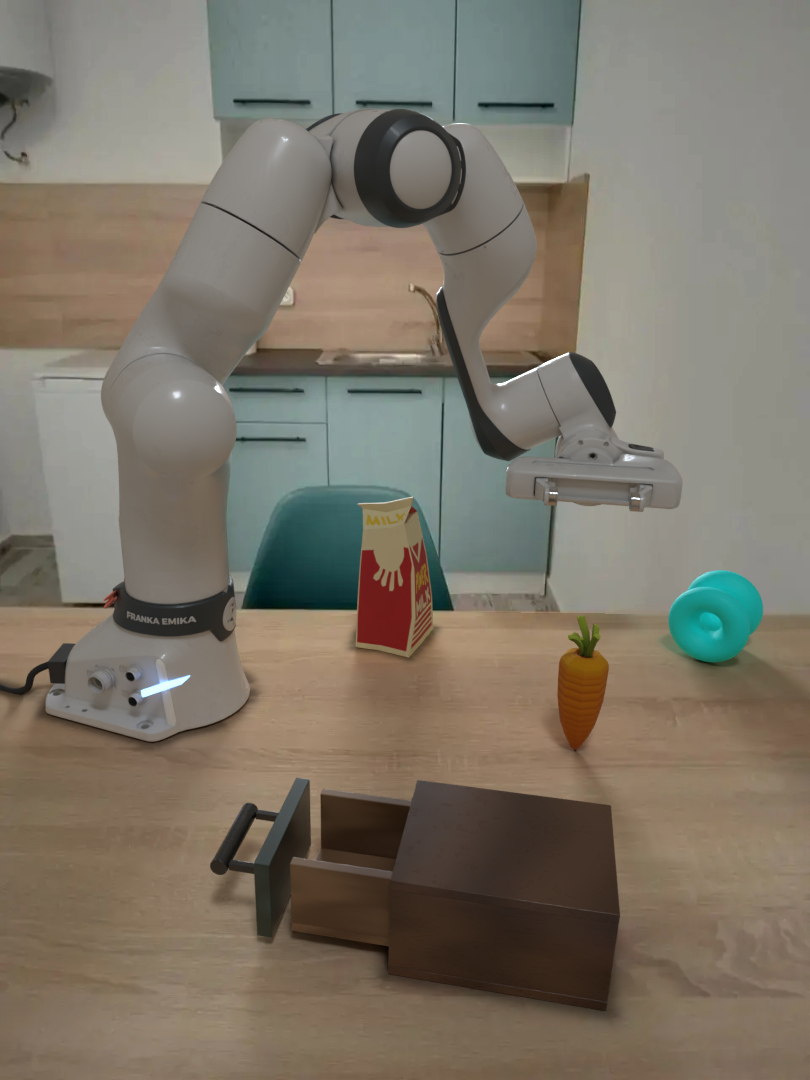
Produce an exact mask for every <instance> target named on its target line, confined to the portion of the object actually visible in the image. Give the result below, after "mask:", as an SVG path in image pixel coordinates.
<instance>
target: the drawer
mask: <svg viewBox="0 0 810 1080" xmlns="http://www.w3.org/2000/svg"><path fill="white" fill-rule="evenodd" d="M319 795H320V799H319V800H320V846H321V847H320V850H319V853H318V855H317V858H316V859H310V858H307V855H308V853H309V850H310V848H311V846H312V831H311V830H312V829H311V780H310V779H309V778H303V777H295V779H294V781H293V783H292V786H291V787H290V789H289V791H288V793H287V796H286V798H285V800H284V802H283V803H282V806H281V808H280V810H279V812H278V811H271V810H265V809H259V807H258V806H257V805H256V803H253V802H245V803H243V805H242V807H241V808H240V810H239V812H238V814H237V815H236V817H235V819H234V821H233V823H232V824H231V827H230V828H229V829H228V832H227V833H226V835H225V837H224V838H223V841H222V843H221V844H220V845H219V847H218V849H217V851H216V853H215V854H214V856H213V858H212V860H211V861H210V864H209V868H210V871H211V872H212V873H213V874H215V875H217V876H223V875H226V874H227V872H228V871H232V872H237V873H244V874H250V875H253V876H254V877H253V879H254V896H255V898H254V899H255V901H254V902H255V920H256V935H257V937H264V938H268V939H273V937H274V934H275V932H276V929H277V927H278V926H279V922H280V920H281V918H282V915H283V912H284V910H285V908H286V905H287V903H288V901H289V899H290V912H291V913H290V914H291V915H290V916H291V918H290V919H291V931H292V932H297V933H305V934H311V935H317V936H324V937H330V938H335V939H342V940H348V941H354V942H358V943H359V942H360V943H366V944H372V945H378V946H383V947H389V915H390V880H391V876H392V872H393V868H394V865H395V861H396V857H397V854H398V850H399V846H400V842H401V839H402V835H403V831H404V828H405V824H406V820H407V816H408V813H409V809H410V805H411V802H412V799H411V800H410V799H402V798H395V797H388V796H380V795H373V794H367V793H360V792H359V793H358V792H352V791H351V792H350V791H345V790H336V789H328V788H322V789H321V792H320V794H319ZM255 820H257V821H258V820H259V821H264V822H265V821H266V822H273V824H272V826H271V827H270V830H269V832H268V833H267V836H266V837H265V840H264V842H263V844H262V846H261V848H260V849H259V852H258V853H257V856H256V858H255V859H254V862H253V861H252V862H251V861H244V860H238V859H235V857H236V856H237V853H238V852H239V850H240V848H241V846H242V844H243V842H244V841H245V839H246V837H247V835H248V833H249V831H250V829H251V827H252V825H253V823H254V821H255Z"/></svg>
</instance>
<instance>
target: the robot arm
mask: <svg viewBox="0 0 810 1080" xmlns="http://www.w3.org/2000/svg"><path fill="white" fill-rule="evenodd" d="M330 218H331V219H336V220H346V221H349V222H352V223H354V224H356V225H360V226H364V227H373V228H385V227H386V228H389V227H390V228H395V229H409V228H412V227H417V226H420V225H422V226H423V227H424V228H425V229H426V231H427V233H428V236H429V238H430V240H431V242H432V244H433V246H434V248H435V250H436V252H437V254H438V256H439V258H440V261H441V265H442V272H443V281H442V285H441V286H440V288H439V289H438V291H437V292H436V294H435V302H436V305H435V306H436V313H437V317H438V321H439V325H440V329H441V332H442V335H443V339H444V343H445V345H446V349H447V351H448V355H449V357H450V360H451V364H452V366H453V369H454V372H455V375H456V378H457V381H458V384H459V387H460V390H461V393H462V396H463V399H464V401H465V405H466V407H467V412H468V419H469V425H470V429H471V433H472V436H473V438H474V440H475V442H476V444H477V446H478V447H479V448H480V450H481V451H482V452H483V454H484V455H486V456H488V457H491V458H494V459H496V460H499V461H505V462H510V463H508V464H507V465H506V467H505V474H506V476H505V495H506V496H507V497H510V498H512V499H520V500H521V499H522V500H533V501H541V502H543V506H550V507H551V506H553V507H557V505H558V502H560V503H562V502H564V503H573V504H576V505H578V506H583V507H598V506H601V505H604V506H605V505H606V506H618V507H619V506H620V507H628V510H629V512H635V513H643V512H644V511H645V508H647V509H648V508H649V509H660V510H661V509H662V510H663V509H664V510H674V509H677V508H678V507H679V506H680V503H681V499H682V492H683V478H682V476H681V475H682V474H681V473H680V472H679V470H678V469H677V468H676V466H675V465H674V464H673V463H672V462H671V461H668V460H666V459H665V458H664V457H665V453H664V450H662V449H661V448H657V447H651V446H646V445H642V444H641V445H640V444H636V443H630V442H628V441H624V440H623V439H620V438H619V436H618V434H617V433H616V432H615V430H614V428H613V426H614V423H615V420H616V416H617V409H616V407H615V403H614V400H613V396H612V394H611V391H610V389H609V387H608V384H607V382H606V380H605V378H604V375H603V374H602V372H601V371H600V369H599V368H598V366H597V365H596V364H595V363H594V361H593V360H591V359H589V358H588V357H586V356H584V355H582V354H579V353H577V352H572V351H568V352H565V353H564V354H562V355H559V356H557V357H555V358H552V359H550V360H548V361H546V362H544V363H542V364H539V365H537V366H536V367H534V368H532V369H530V370H528V371H526V372H524V373H521V374H519V375H517V376H516V377H513V378H511V379H509V380H507V381H503V382H500V383H494V382H492V381H491V378H490V375H489V371H488V368H487V364H486V362H485V358H484V355H483V352H482V349H481V345H480V339H481V336H482V334H483V331H484V330H485V329H486V327H487V326H488V324H489V323H490V322H491V321H492V319H493V318H494V317H495V316H496V315H497V314H498V313H499V312H500V310H501V309H502V308H503V307H505V305H506V304H508V303H509V302H510V301H511V300H512V299H513V298H514V297H515V295H516V294H517V293H518V292H519V290H521V288H522V287H523V286H524V284H525V283H526V281H527V280H528V277H529V275H530V273H531V272H532V269H533V267H534V264H535V260H536V257H537V251H538V239H537V236H536V233H535V229H534V225H533V222H532V220H531V217H530V214H529V212H528V209H527V206H526V204H525V202H524V200H523V198H522V195H521V193H520V191H519V189H518V187H517V185H516V182H515V181H514V179H513V177H512V175H511V173H510V172H509V170H508V169H507V167H506V165H505V162H504V161H503V160H502V158H501V157H500V155H499V154H498V152H497V151H496V149H495V148H494V146H493V145H492V144H491V142H490V141H489V139H488V138H487V136H486V135H485V134H484V133H483V132H482V131H481V130H480V129H479V128H477V127H476V126H474V125H472V124H470V123H463V122H457V123H450V124H446V125H443V126H442V125H441V124H440V123H439V122H437V121H436V120H435V119H433V118H431V117H430V116H429V115H426V114H424V113H422V112H419V111H416V110H412V109H408V108H394V109H379V108H373V107H368V108H367V107H366V108H365V107H364V108H358V109H352V110H350V111H346V112H341V113H334V114H330V115H327V116H324V117H323V118H320V119H319V120H317V121H315V122H314V123H313V124H311V125H309V126H308V127H307V128H304V127H302V125H300V124H298V123H295V122H293V121H290V120H286V119H284V118H276V117H265V118H261V119H259V120H257V121H255V122H253V123H252V124H251V125H249V126H248V127H247V128H246V130H245V131H244V132H243V133H242V134H241V136H240V137H239V139H238V140H237V141H236V142H235V144H234V145H233V147H232V148H231V149H230V151H229V152H228V154H226V156H225V158H224V159H223V161H222V162H221V163H220V166H219V168H218V169H217V170H216V172H215V174H214V175H213V177H212V179H211V180H210V183H209V184H208V186H207V188H206V190H205V192H204V194H203V195H202V197H201V200H200V201H199V204H198V206H197V207H196V210H195V212H194V214H193V216H192V218H191V220H190V222H189V224H188V227H187V228H186V231H185V233H184V234H183V236H182V239H181V241H180V243H179V245H178V247H177V249H176V251H175V253H174V255H173V257H172V259H171V261H170V262H169V265H168V267H167V269H166V271H165V273H164V275H163V277H162V279H161V281H160V282H159V284H158V285H157V287H156V289H155V291H154V292H153V293H152V295H151V297H150V298H149V300H148V301H147V303H146V304H145V306H144V307H143V309H142V310H141V312H140V314H139V316H138V317H137V319H136V321H135V322H134V324H133V325H132V327H131V328H130V330H129V332H128V333H127V336H126V337H125V339H124V341H123V342H122V344H121V345H120V348H119V349H118V351H117V353H116V355H115V357H114V358H113V360H112V362H111V364H110V366H109V368H108V369H107V371H106V372H105V375H104V377H103V380H102V383H101V389H100V401H101V402H100V403H101V407H102V411H103V413H104V416H105V419H106V420H107V422H108V424H109V425H110V427H111V430H112V432H113V435H114V436H113V437H114V439H115V444H116V451H117V452H116V453H117V467H118V468H117V471H118V501H119V504H118V506H119V507H118V508H119V510H118V527H119V538H120V548H121V558H122V567H123V575H124V576H123V577H124V578H123V581H121V582H119V583H118V584H117V585H115V586H114V587H113V588H112V592H110V593H109V594H108V595H107V596H105V597H104V598H103V600H102V601H103V602H105V604H104V605H103V608H104V609H108V608H109V607H110V606H112V605H113V606H114V607H113V608H114V609H113V613H111V614H110V615H108V616H107V617H106V618H104V619H103V620H102V621H100V622H99V623H98V624H96V625H95V626H94V627H93V628H91V629H90V630H89V631H87V632H86V633H85V634H84V635H83V636H81V638H79V640H77V642H76V643H71V642H70V643H68V642H66V643H65V642H63V643H62V644H61V645H60V646H59V648H58V649H57V650H56V651H55V653H53V655H52V656H51V657H50V658H49V660H47V661H45V662H42V663H40V664H38V665H36V666H34V667H33V668H31V670H30V671H29V672H28V673H27V676H26V679H25V684H24V686H21V687H10V686H7V685H5V684H3V683H0V691H2V692H5V693H9V694H13V695H23V694H26V693H28V692H30V691H31V689H32V688H33V686H34V681H35V677H36V676H37V675H38V674H40V673H41V672H44V671H46V670H48V675H49V682H50V684H52V686H51V688H50V689H49V690H48V693H47V694H46V697H45V713H46V714H48V715H51V716H53V717H57V718H61V719H64V720H69V721H72V722H76V723H79V724H83V725H86V726H90V727H94V728H98V729H101V730H105V731H109V732H112V733H116V734H118V735H123V736H127V737H130V738H134V739H138V740H141V741H145V742H151V743H152V742H153V743H154V742H159V741H162V740H165V739H166V738H169V737H173V735H176V734H178V733H181V732H184V731H188V730H193V729H197V728H201V727H205V726H209V725H212V724H215V723H218V722H220V721H223V720H224V719H227V718H228V717H230V716H232V715H233V714H235V713H237V712H238V711H239V710H240V709H241V708H242V707H243V706H244V705H245V704H246V703H247V701H248V699H249V698H250V693H251V687H250V684H249V681H248V679H247V676H246V673H245V671H244V668H243V664H242V660H241V657H240V653H239V648H238V644H237V643H238V642H237V638H236V637H237V636H236V630H235V629H236V625H237V602H236V595H235V593H236V592H235V584H234V579H233V577H232V576H231V575H230V563H229V562H230V560H229V559H230V558H229V544H228V543H229V542H228V541H229V540H228V521H227V520H228V518H227V517H228V516H227V515H228V514H227V513H228V499H229V489H230V483H231V473H232V462H233V450H234V447H235V445H236V441H237V433H238V429H237V428H238V426H237V419H236V414H235V410H234V406H233V404H232V401H231V399H230V396H229V394H228V392H227V391H226V388H224V384H225V383H226V382H227V380H228V378H229V377H230V376H231V374H232V373H233V372H234V371H235V369H236V368H237V366H238V365H239V363H240V362H241V360H243V358H244V357H245V356H246V354H247V353H248V352H249V350H250V349H252V347H253V346H254V345H255V344H256V343H257V342H258V341H259V340H260V339H261V338H263V337H264V335H265V334H266V332H267V331H268V330H269V328H270V326H271V323H272V322H273V319H274V317H275V316H276V314H277V311H278V309H279V307H280V305H281V304H282V301H283V300H284V298H285V296H286V293H287V292H288V290H289V288H290V286H291V283H292V281H293V279H294V277H295V276H296V273H297V272H298V270H299V268H300V266H301V263H302V262H303V260H304V258H305V255H306V253H307V251H308V249H309V247H310V245H311V243H312V240H313V237H314V235H315V234H316V233H317V232H318V231H319V229H320V228H321V226H323V224H324V223H325V222H326V221H327V220H328V219H330ZM554 439H557V441H556V444H555V450H554V457H545V456H543V457H542V456H522V455H524V454H526V453H528V452H529V451H531V449H533V448H536V447H538V446H541V445H543V444H545V443H548V442H549V441H552V440H554Z"/></svg>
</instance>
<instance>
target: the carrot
mask: <svg viewBox="0 0 810 1080" xmlns="http://www.w3.org/2000/svg"><path fill="white" fill-rule="evenodd" d="M576 618H577V623H578V626H579V630H580V633H581V636H580V634H579V633H578V632H576V631H574V632H573V633H570V634H569V635H567V639H568V640H569V641H570V642H573V643H574V644H575V645H576V646H577V647H572V648H569V649H567V650H566V652H564V653H563V654H562V655H561V656H560V659H559V662H558V671H557V672H558V673H557V695H556V697H557V707H558V713H559V721H560V724H561V728H562V731H563V734H564V736H565V738H566V741H567V742H568V743H567V744H568V745H569V747H570V748H572V749H573V751H574V750H579V749H580V748H581V747H582V745H583V744H584V742H585V741H586V740H587V739H588V737H590V734H591V733H592V732H593V729H594V727H595V726H596V724H597V720H598V718H599V715H600V712H601V710H602V707H603V703H604V699H605V695H606V689H607V683H608V677H609V670H610V665H609V661H608V660H607V659H606V658H605V656H603V654H602V653H601V652H600V651H599V650H596V649H595V648H596V646H597V643H598V642H599V641H600V639H601V637H602V636H601V635H600V629H601V627H600V626H599V625H598V624H597V623H593V624H592V629H591V633H590V630H589V626H588V622H587V619H586V616H585V615H582V614H579V615H578V616H577V617H576ZM590 634H591V635H590Z"/></svg>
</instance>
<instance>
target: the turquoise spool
mask: <svg viewBox="0 0 810 1080" xmlns="http://www.w3.org/2000/svg"><path fill="white" fill-rule="evenodd" d="M763 615H764V603H763V599H762V597H761V594H760V591H758V589H757V587H756V586H755V584H753V583H752V582H751V581H750V580H749V579H747V578H746V577H745V576H743V575H741V574H739V573H737V572H735V571H731V570H730V571H729V570H725V569H717V570H711V571H707V572H704V573H702V574H700V575H699V576H697V577H696V578H695V579H694V580H693V581H692V582H691V583H690V585H689V587H688V588H687V590H686V591H683V592H682V593H681V594H680V595H678V597H677V598H676V599H675V600H674V601H673V603H672V604H671V607H670V609H669V612H668V617H667V618H668V620H667V621H668V622H667V623H668V624H667V625H668V629H669V633H670V636H671V637H672V639H673V641H674V642H675V644H676V646H678V647H679V648H680V650H682V651H683V652H684V653H685V654H686V655H688V656H689V657H692V658H693V659H696V660H698V661H701V662H706V663H722V662H725V661H728V660H731V659H733V658H735V657H736V656H738V655H739V654H740V653H741V652H743V650H744V648H745V647H746V645H747V643H748V641H749V639H750V636H751V635H752V634H754V633H755V632H756V631H757V629H758V628H759V626H760V625H761V622H762V620H763Z"/></svg>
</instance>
